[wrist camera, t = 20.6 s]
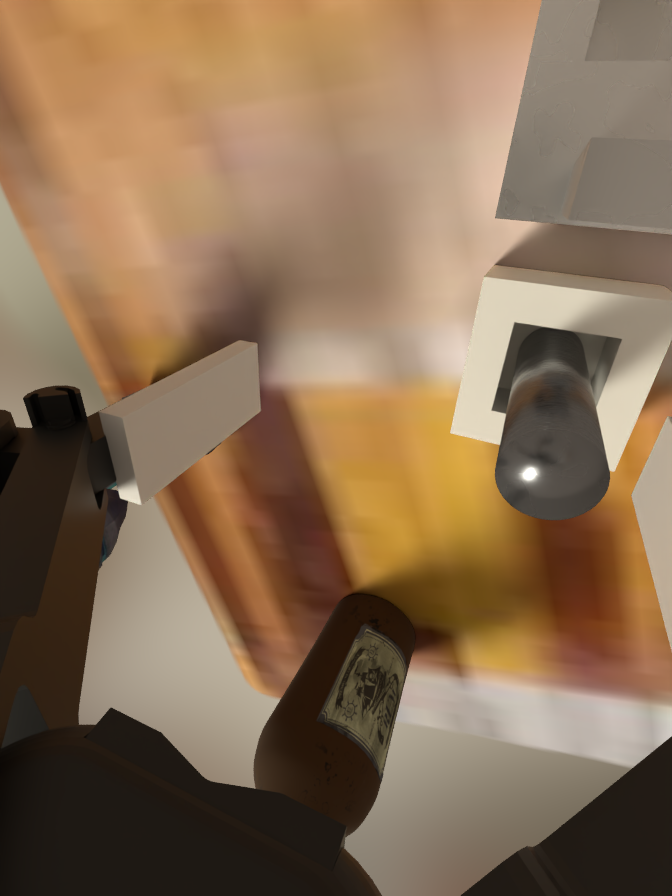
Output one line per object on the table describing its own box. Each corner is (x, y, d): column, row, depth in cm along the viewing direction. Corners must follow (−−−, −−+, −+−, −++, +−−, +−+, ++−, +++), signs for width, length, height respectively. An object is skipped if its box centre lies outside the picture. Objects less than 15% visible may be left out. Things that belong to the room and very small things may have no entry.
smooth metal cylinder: (526, 321, 30) (508, 418, 17) (592, 331, 29) (627, 443, 16) (511, 378, 32) (485, 504, 19) (572, 389, 31) (588, 531, 18)
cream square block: (494, 264, 31) (483, 276, 26) (663, 285, 28) (687, 303, 23) (463, 401, 36) (450, 433, 31) (604, 431, 33) (614, 471, 28)
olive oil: (374, 672, 54) (269, 954, 34) (312, 609, 54) (166, 859, 33) (442, 645, 48) (364, 971, 28) (373, 574, 48) (241, 854, 27)
